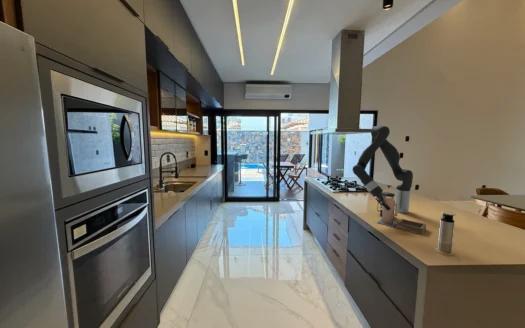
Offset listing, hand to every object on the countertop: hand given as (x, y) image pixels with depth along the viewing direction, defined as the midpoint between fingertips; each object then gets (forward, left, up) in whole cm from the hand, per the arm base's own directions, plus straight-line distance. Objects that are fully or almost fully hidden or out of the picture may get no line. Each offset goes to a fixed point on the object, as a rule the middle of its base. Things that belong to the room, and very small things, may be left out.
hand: (391, 208), depth 149 cm
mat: (0, -2, -10) cm, 11 cm away
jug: (0, -1, -10) cm, 10 cm away
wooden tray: (0, +12, -10) cm, 16 cm away
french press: (-15, -7, -11) cm, 20 cm away
